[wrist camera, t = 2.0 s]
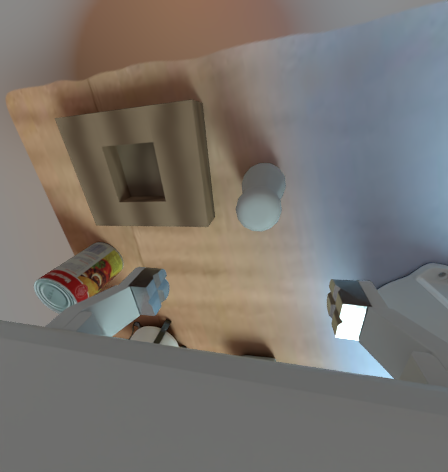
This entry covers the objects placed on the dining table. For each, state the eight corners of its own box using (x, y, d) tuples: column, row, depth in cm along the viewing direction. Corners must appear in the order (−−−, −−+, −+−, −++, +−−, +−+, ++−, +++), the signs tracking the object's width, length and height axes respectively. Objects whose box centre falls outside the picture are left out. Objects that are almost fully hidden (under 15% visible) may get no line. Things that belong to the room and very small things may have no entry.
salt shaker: (240, 165, 30) (219, 187, 19) (282, 155, 28) (286, 174, 17) (248, 203, 32) (233, 244, 21) (287, 197, 30) (293, 238, 19)
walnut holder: (202, 103, 27) (191, 99, 24) (214, 216, 34) (208, 226, 31) (78, 119, 32) (54, 118, 28) (112, 216, 39) (96, 225, 36)
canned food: (96, 271, 47) (45, 311, 37) (85, 240, 43) (25, 276, 33) (127, 275, 45) (83, 318, 35) (118, 243, 42) (66, 282, 31)
